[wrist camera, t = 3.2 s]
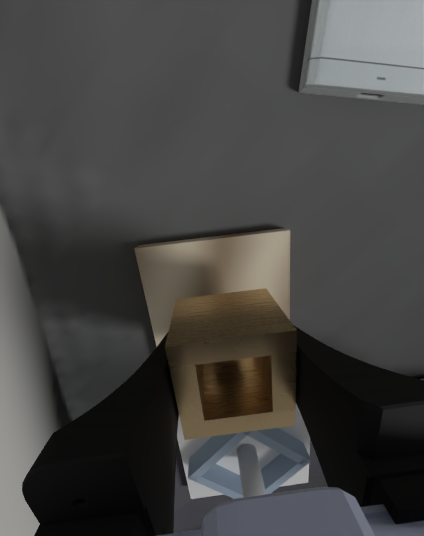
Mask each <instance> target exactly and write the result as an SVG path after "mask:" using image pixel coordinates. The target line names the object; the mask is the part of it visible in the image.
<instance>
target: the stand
mask: <svg viewBox="0 0 424 536" xmlns="http://www.w3.org/2000/svg"><path fill="white" fill-rule="evenodd" d="M134 250H135V254H136V258H137V263H138V267H139V272H140V276H141V280H142V285H143V289H144V294H145V298H146V303H147V307H148V311H149V316H150V320H151V325H152V329H153V333H154V338H155V342H156V347H157V346H158V345H159V343H160V342H161V341H162V339H163V338H164V336H165V335H166V334H167V332H168V331H169V327H170V323H171V319H172V315H173V310H174V306H175V302H176V299H182V298H190V297H198V296H207V295H215V294H223V293H231V292H239V291H248V290H256V289H264V288H266V289H267V290H268V291H269V293H270V294H271V296H272V297H273V298H274V300H275V301H276V302H277V304H278V305H279V306H280V308H281V309H282V311H283V312H284V313H285V315H286V316H287V317H288V319H289V320H290V230H288V229H285V228H281V229H272V230H264V231H255V232H247V233H238V234H230V235H221V236H213V237H204V238H196V239H187V240H179V241H170V242H162V243H153V244H145V245H138V246H137V247H136V248H134Z"/></svg>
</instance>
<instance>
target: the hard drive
mask: <svg viewBox="0 0 424 536" xmlns="http://www.w3.org/2000/svg"><path fill="white" fill-rule="evenodd" d="M299 93H308V94H318V95H329V96H339V97H350V98H360V99H370V100H381V101H391V102H401V103H412V104H422V105H424V0H312V4H311V11H310V17H309V24H308V31H307V38H306V44H305V52H304V59H303V66H302V72H301V78H300V85H299Z"/></svg>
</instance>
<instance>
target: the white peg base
mask: <svg viewBox="0 0 424 536" xmlns="http://www.w3.org/2000/svg"><path fill="white" fill-rule="evenodd" d="M177 439H178V444H179V448H180V453H181V457H182V461H183V466H184V470H185V475H186V479H187V483H188V488H189V492H190V497H191V499H195V498H202V497H209V496H216V495H223V494H224V495H227V496H229V497H231V498H233V499H236V498H243V497H251V496H258V495H265V494H270V493H272V492H273V491H274V490H276V489H277V488H278V487H280V486H287V485H294V484H301V483H308V474H309V463H310V462H311V459H310V457H309V454H310V436H309V433H308V431H307V428H306V426H305V423H304V421H303V418H302V416H301V413H300V411H299V409H298V407H297V404H296V417H295V426H287V427H280V428H272V429H265V430H257V431H249V432H242V433H234V434H227V435H219V436H212V437H204V438H197V439H189V440H184V435H183V430H182V426H181V421H180V416H179V420H178V429H177Z"/></svg>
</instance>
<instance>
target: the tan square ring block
mask: <svg viewBox="0 0 424 536" xmlns="http://www.w3.org/2000/svg"><path fill="white" fill-rule="evenodd" d="M165 350H166V355H167V359H168V364H169V369H170V374H171V378H172V383H173V388H174V392H175V397H176V402H177V407H178V411H179V416H180V421H181V426H182V430H183V435H184V440H189V439H197V438H204V437H212V436H219V435H227V434H234V433H242V432H249V431H257V430H265V429H272V428H280V427H287V426H295V417H296V356H297V330H296V328H295V327H294V326H293V324H292V323H291V321H290V320H289V319H288V317H287V316H286V315H285V313H284V312H283V311H282V309H281V308H280V306H279V305H278V304H277V302H276V301H275V300H274V298H273V297H272V296H271V294H270V293H269V291H268V290H267V289H266V288H264V289H256V290H248V291H239V292H231V293H223V294H215V295H207V296H198V297H190V298H182V299H176V302H175V306H174V310H173V315H172V319H171V323H170V327H169V331H168V336H167V340H166V344H165Z"/></svg>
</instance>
